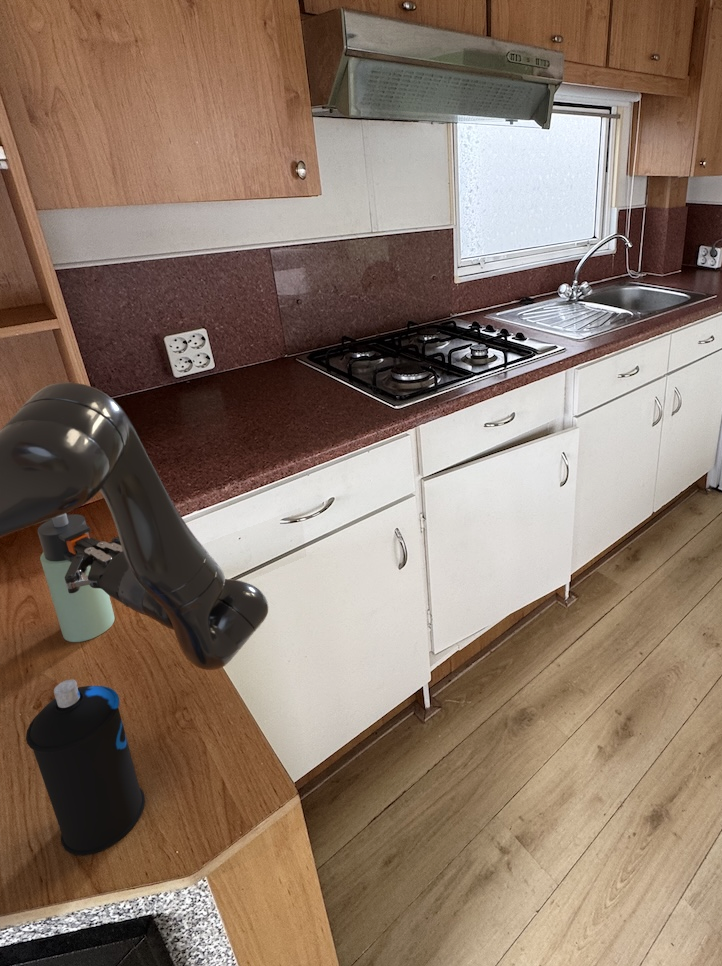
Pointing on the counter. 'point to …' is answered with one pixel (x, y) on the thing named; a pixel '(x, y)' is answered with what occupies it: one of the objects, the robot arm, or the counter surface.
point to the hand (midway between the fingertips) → (81, 544)
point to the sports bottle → (75, 611)
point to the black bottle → (86, 767)
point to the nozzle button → (72, 542)
